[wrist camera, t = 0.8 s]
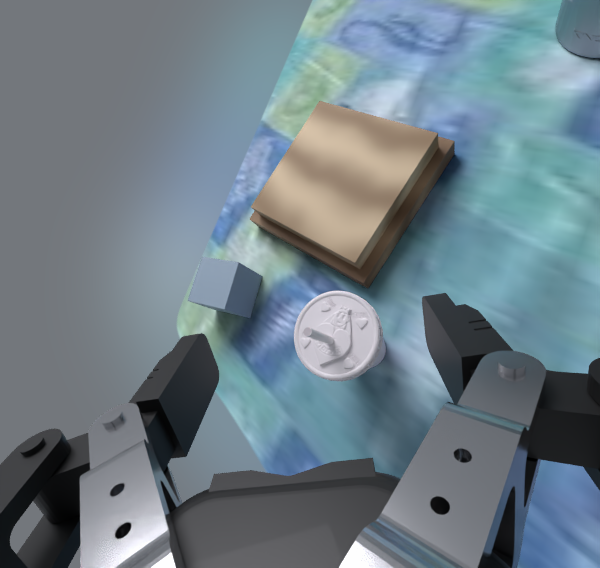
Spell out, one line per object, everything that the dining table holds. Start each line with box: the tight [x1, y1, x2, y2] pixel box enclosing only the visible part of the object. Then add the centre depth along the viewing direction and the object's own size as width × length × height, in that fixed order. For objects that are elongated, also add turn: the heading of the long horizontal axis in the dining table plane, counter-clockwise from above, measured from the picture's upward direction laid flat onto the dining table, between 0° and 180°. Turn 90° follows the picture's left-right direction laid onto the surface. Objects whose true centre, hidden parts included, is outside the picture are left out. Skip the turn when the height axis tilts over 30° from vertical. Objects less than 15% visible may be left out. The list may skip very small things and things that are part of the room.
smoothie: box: [294, 291, 386, 381], centre depth 26 cm, size 6×6×14 cm
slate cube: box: [188, 257, 262, 318], centre depth 38 cm, size 5×5×5 cm
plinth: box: [250, 101, 454, 288], centre depth 36 cm, size 16×16×4 cm
